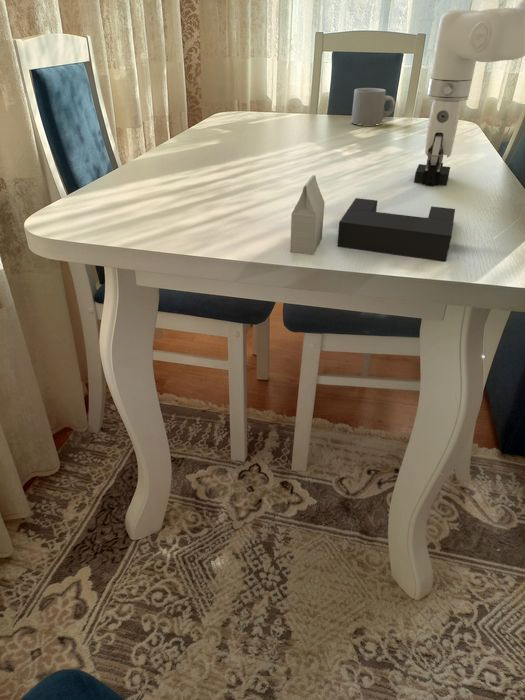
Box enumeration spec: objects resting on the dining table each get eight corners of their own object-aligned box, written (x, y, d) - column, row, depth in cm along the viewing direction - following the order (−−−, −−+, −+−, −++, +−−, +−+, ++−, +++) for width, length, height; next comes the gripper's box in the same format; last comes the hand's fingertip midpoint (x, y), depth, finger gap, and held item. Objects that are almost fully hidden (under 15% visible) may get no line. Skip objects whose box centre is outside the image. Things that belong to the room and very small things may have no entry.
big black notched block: (449, 232, 82) (455, 208, 80) (445, 261, 73) (451, 235, 70) (353, 220, 87) (355, 197, 85) (337, 246, 77) (339, 221, 75)
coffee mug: (350, 125, 160) (353, 91, 154) (351, 120, 168) (355, 87, 162) (392, 127, 158) (397, 92, 152) (391, 121, 166) (396, 88, 160)
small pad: (446, 186, 104) (450, 166, 102) (444, 194, 99) (448, 174, 97) (415, 183, 106) (418, 164, 104) (412, 191, 101) (415, 171, 99)
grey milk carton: (321, 238, 80) (326, 175, 74) (313, 254, 75) (318, 188, 69) (299, 236, 81) (302, 173, 75) (290, 251, 76) (292, 185, 70)
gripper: (468, 96, 85) (446, 200, 95) (470, 85, 98) (450, 177, 108) (423, 94, 87) (406, 196, 97) (431, 83, 100) (415, 174, 110)
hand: (430, 185), depth 102 cm, fingers closed on small pad, 6 cm apart
